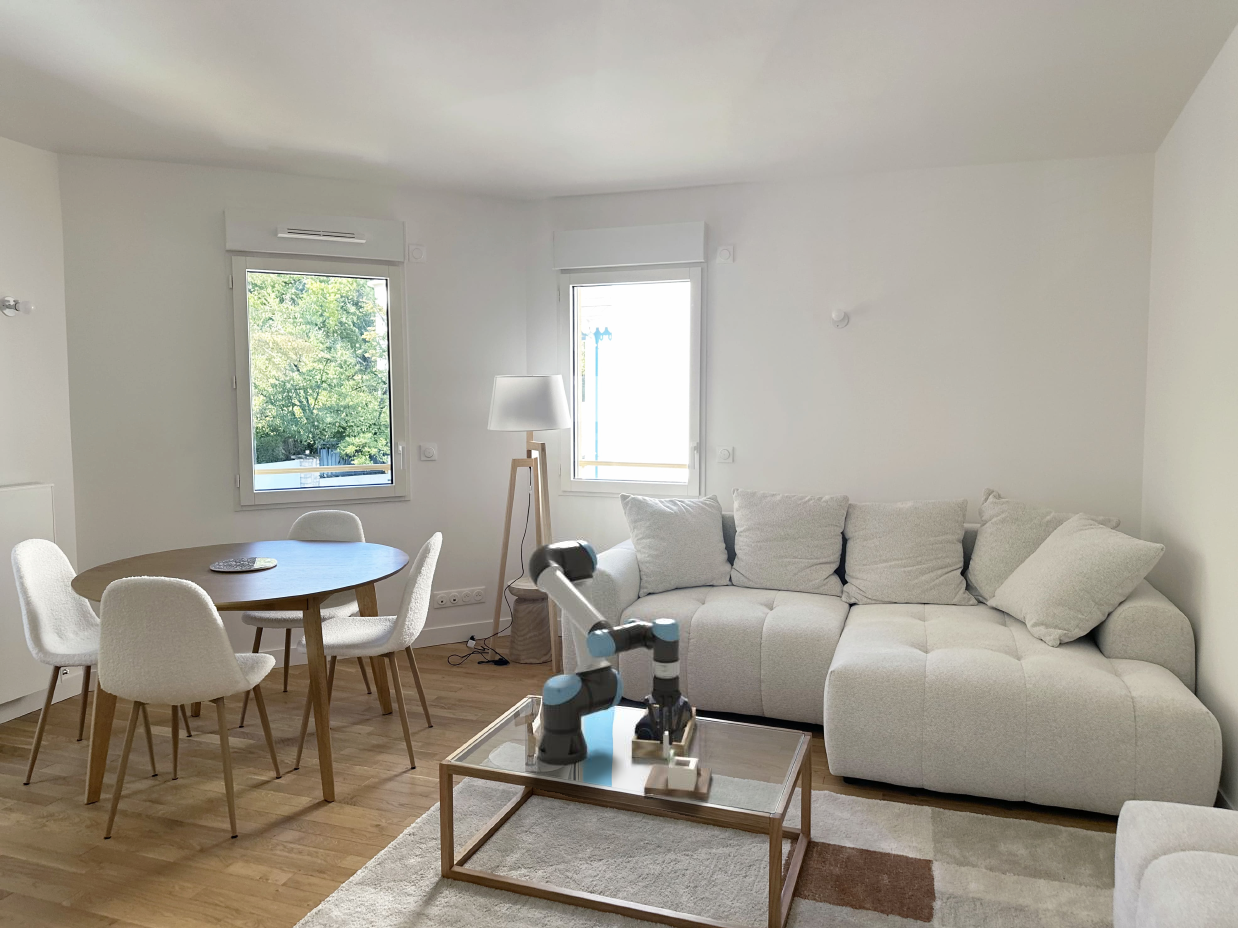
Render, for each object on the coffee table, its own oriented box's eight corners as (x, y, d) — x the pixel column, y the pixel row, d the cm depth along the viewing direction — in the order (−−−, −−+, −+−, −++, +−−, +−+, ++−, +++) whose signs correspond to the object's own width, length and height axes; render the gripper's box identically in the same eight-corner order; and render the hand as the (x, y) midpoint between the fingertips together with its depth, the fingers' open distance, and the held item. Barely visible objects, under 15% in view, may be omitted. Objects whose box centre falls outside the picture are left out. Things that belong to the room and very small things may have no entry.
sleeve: (672, 777, 237) (671, 756, 236) (696, 779, 235) (696, 758, 235) (668, 788, 230) (668, 766, 229) (693, 790, 228) (693, 769, 228)
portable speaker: (658, 754, 256) (658, 722, 255) (631, 747, 261) (630, 716, 260) (697, 727, 276) (697, 697, 276) (671, 721, 282) (671, 692, 281)
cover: (667, 774, 238) (667, 757, 237) (670, 765, 244) (670, 749, 243) (696, 776, 236) (696, 760, 236) (698, 767, 242) (698, 751, 242)
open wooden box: (631, 756, 255) (631, 740, 255) (648, 718, 286) (648, 704, 285) (684, 760, 252) (684, 744, 252) (695, 721, 282) (695, 707, 282)
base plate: (644, 794, 231) (644, 765, 230) (653, 770, 245) (653, 743, 245) (706, 799, 227) (706, 770, 227) (711, 775, 242) (711, 748, 241)
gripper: (641, 677, 236) (641, 758, 238) (687, 679, 234) (687, 762, 235) (645, 668, 244) (646, 748, 245) (690, 671, 241) (691, 751, 243)
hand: (666, 755), depth 240 cm, fingers closed
